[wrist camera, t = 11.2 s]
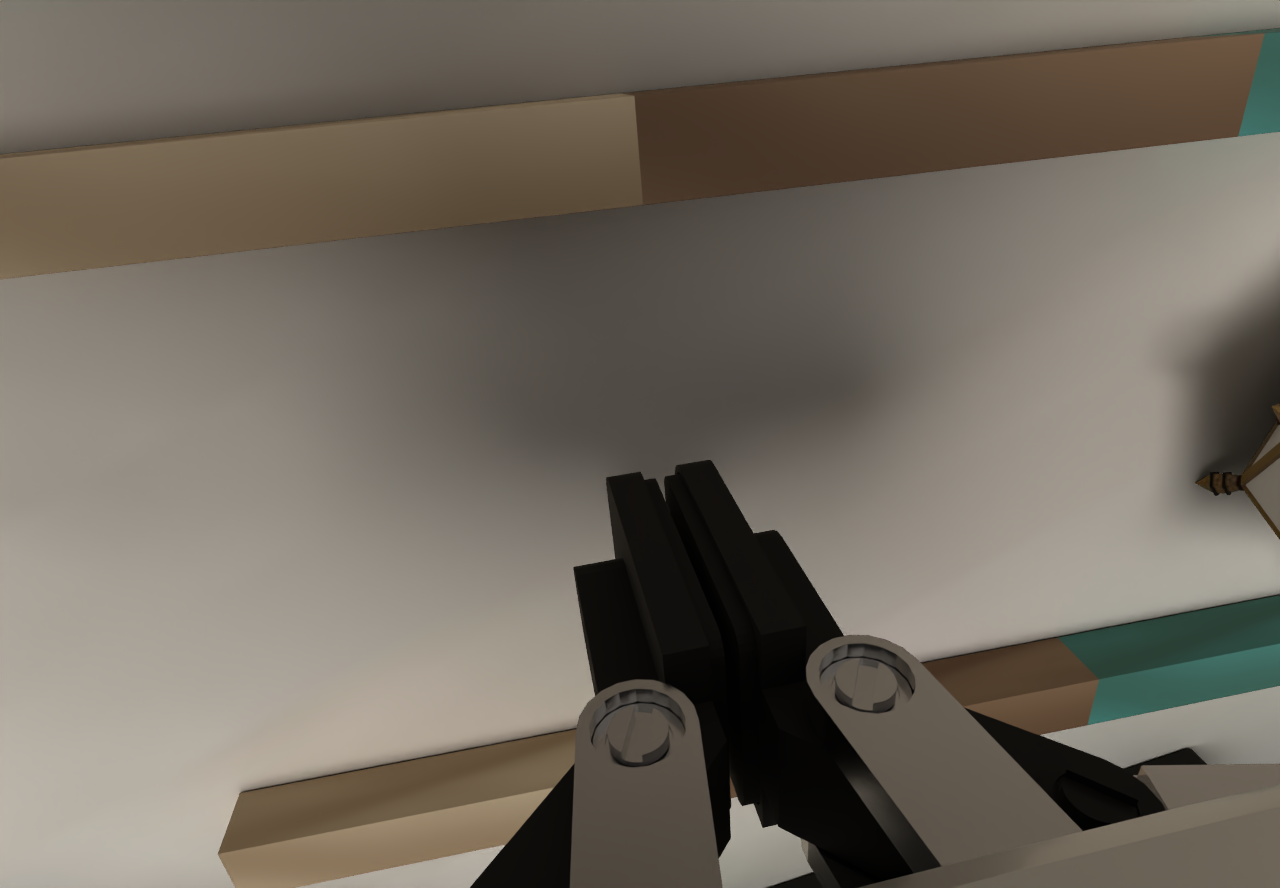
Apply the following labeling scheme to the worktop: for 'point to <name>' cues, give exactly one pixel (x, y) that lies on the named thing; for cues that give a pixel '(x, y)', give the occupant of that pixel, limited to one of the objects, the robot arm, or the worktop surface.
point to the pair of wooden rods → (631, 176)
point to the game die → (1256, 478)
